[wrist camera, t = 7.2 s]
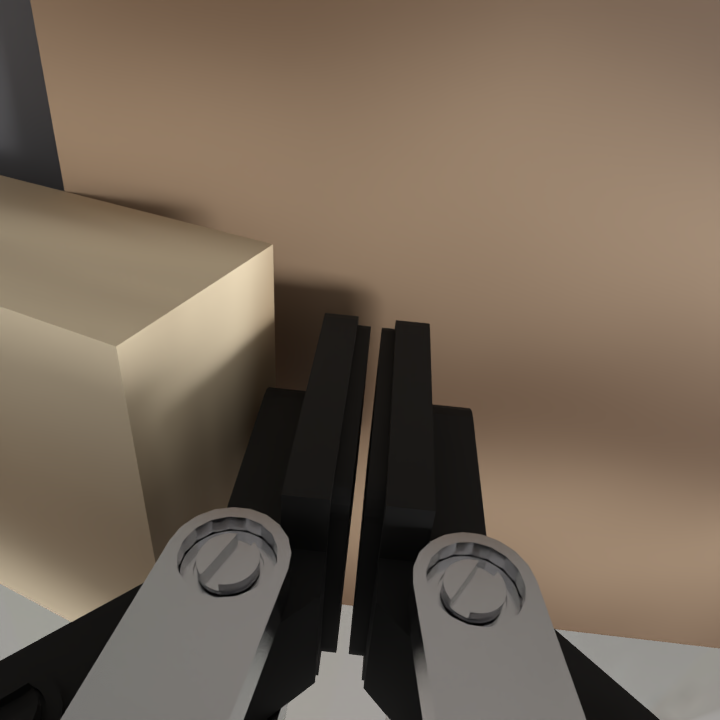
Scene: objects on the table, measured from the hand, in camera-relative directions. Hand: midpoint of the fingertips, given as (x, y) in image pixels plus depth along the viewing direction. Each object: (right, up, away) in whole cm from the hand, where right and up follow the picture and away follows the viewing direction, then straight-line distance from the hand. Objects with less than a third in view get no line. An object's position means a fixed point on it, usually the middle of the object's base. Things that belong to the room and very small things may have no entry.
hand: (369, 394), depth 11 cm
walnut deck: (+3, +2, +3) cm, 4 cm away
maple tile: (-6, +1, +1) cm, 6 cm away
